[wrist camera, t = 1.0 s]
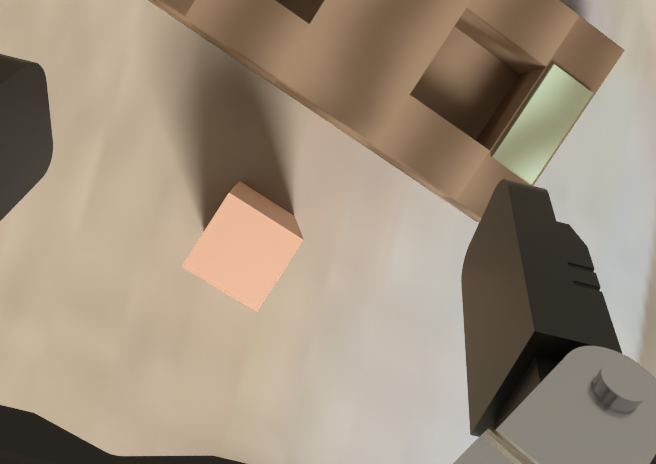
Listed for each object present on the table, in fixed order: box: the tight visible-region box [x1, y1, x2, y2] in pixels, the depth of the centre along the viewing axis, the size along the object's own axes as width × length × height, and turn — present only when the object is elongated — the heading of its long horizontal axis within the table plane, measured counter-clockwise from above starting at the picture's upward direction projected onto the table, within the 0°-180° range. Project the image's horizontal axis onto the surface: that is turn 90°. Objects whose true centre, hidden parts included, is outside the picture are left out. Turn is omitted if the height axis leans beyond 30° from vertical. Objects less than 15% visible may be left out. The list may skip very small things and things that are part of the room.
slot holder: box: [149, 0, 624, 222], centre depth 34 cm, size 24×12×5 cm, turn 57°
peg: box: [182, 181, 304, 312], centre depth 32 cm, size 4×4×10 cm
